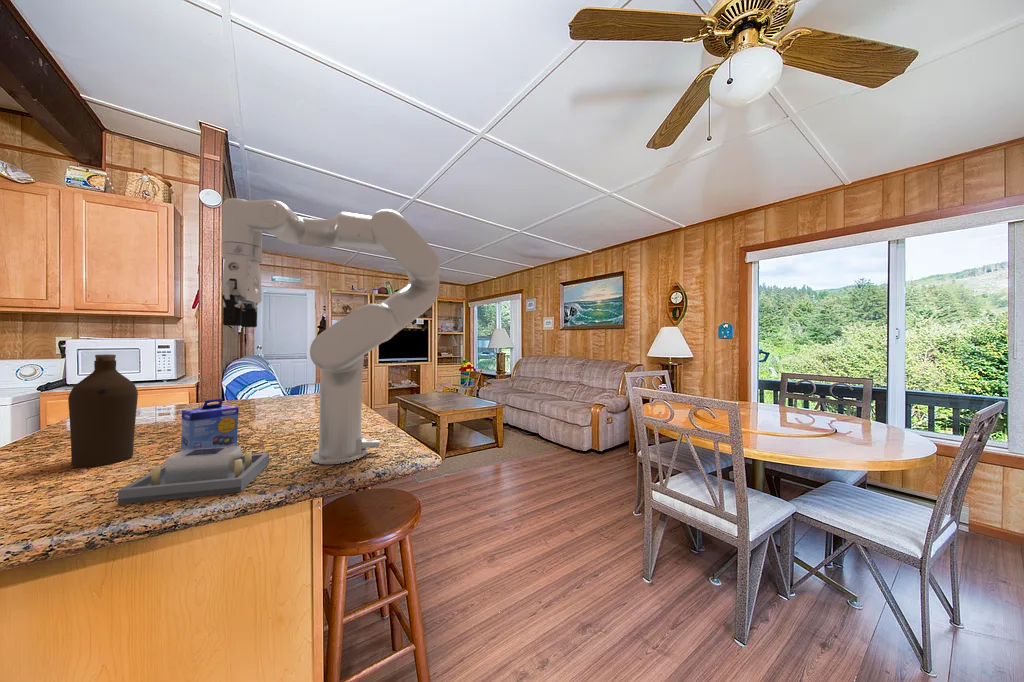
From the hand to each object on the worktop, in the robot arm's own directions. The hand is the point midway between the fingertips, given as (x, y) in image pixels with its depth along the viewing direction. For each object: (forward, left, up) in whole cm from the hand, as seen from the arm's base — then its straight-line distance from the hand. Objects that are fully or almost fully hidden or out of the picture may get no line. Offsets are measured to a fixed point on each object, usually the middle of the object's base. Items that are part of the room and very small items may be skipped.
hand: (241, 326), depth 82 cm
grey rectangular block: (+2, +11, -31) cm, 33 cm away
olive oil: (+30, -10, -32) cm, 45 cm away
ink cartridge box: (+8, -6, -32) cm, 34 cm away
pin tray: (+2, +11, -32) cm, 34 cm away
